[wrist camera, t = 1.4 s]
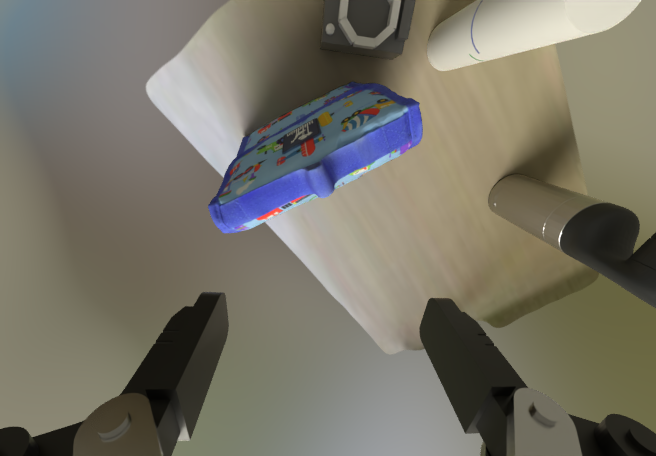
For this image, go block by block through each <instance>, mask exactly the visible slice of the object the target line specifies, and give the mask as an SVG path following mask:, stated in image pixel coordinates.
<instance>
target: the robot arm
mask: <svg viewBox="0 0 656 456" xmlns="http://www.w3.org/2000/svg"><path fill="white" fill-rule="evenodd" d="M489 207H490V209H491V210H492V211H493V212H494V213H495V214H497V215H499V216H501V217H502V218H504V219H506V220H507V221H509V222H511V223H513V224H514V225H516V226H518V227H520V228H521V229H523V230H525V231H527V232H528V233H530V234H532V235H534V236H535V237H537V238H539V239H541V240H542V241H544V242H546V243H548V244H550V245H551V246H553V247H555V248H557V249H558V250H560V251H562V252H564V253H565V254H567V255H569V256H571V257H572V258H574V259H576V260H578V261H580V262H582V263H583V264H585V265H587V266H589V267H590V268H592V269H594V270H596V271H597V272H599V273H601V274H602V275H604V276H605V277H607V278H609V279H610V280H612V281H613V282H615V283H617V284H618V285H620V286H621V287H623V288H624V289H626V290H627V291H629V292H631V293H632V294H634V295H635V296H637V297H638V298H640V299H641V300H643V301H645V302H646V303H648V304H650V305H651V306H653V307H655V308H656V233H655V234H653V236H652V237H651V238H649V239H648V240H647V241H646V242H645V243H644V244H643V245H642V246H641V247H640V248H639V249H638V250H637V251H636V252H635V253H634V254H633V248H634V245H635V242H636V239H637V237H638V234H639V226H640V224H639V220H638V218H637V216H636V215H635V214H634V213H633V212H632V211H630V210H628V209H626V208H624V207H621V206H618V205H615V204H611V203H608V202H605V201H602V200H599V199H596V198H593V197H589V196H586V195H583V194H580V193H577V192H574V191H570V190H567V189H564V188H561V187H558V186H555V185H552V184H549V183H546V182H542V181H539V180H536V179H533V178H530V177H527V176H524V175H520V174H514V175H510V176H507V177H505V178H503V179H502V180H500V181H499V182H498V183H497V184H496V185H495V186H494V188H493V189H492V191H491V193H490V196H489ZM228 326H229V325H228V314H227V305H226V297H225V293H216V292H203V293H201V295H200V296H199V298H198V299H197V301H196V303H195V304H194V306H193V307H188V306H185V307H184V308H182V309H181V310H180V311H179V312H178V313H176V314H175V315H174V316H173V317H172V318H171V319H170V321H169V322H168V324H167V325H166V327H165V328H164V330H163V333H161V334H160V336H159V337H158V339H157V340H156V343H155V344H154V345H153V346H152V348H151V349H150V351H149V353H148V354H147V356H146V357H145V359H144V360H143V362H142V363H141V365H140V366H139V368H138V369H137V371H136V372H135V374H134V375H133V377H132V378H131V380H130V381H129V383H128V384H127V386H126V387H125V389H124V390H123V392H122V393H121V394H120V395H119V396H117V397H115V398H112V399H111V400H109V401H107V402H105V403H104V404H102V405H101V406H99V407H98V408H97V409H96V410H94V412H92V413H91V414H90V415H89V416H88V417H87V418H86V420H84V421H82V422H79V423H76V424H73V425H70V426H67V427H64V428H61V429H58V430H54V431H51V432H48V433H45V434H42V435H38V436H35V437H31V436H30V434H29V433H28V431H27V430H25V429H24V428H21V427H7V428H3V429H0V456H171V455H172V453H173V450H174V447H175V445H176V443H177V441H186V440H190V439H191V436H192V434H193V431H194V428H195V425H196V422H197V420H198V417H199V414H200V411H201V409H202V406H203V403H204V400H205V397H206V395H207V391H208V389H209V386H210V383H211V381H212V378H213V375H214V372H215V370H216V367H217V364H218V361H219V358H220V356H221V353H222V350H223V347H224V345H225V342H226V339H227V335H228ZM420 338H421V341H422V343H423V346H424V348H425V350H426V352H427V354H428V356H429V358H430V360H431V362H432V364H433V367H434V368H435V370H436V373H437V375H438V377H439V379H440V381H441V383H442V385H443V387H444V390H445V392H446V394H447V396H448V398H449V400H450V402H451V404H452V406H453V408H454V411H455V413H456V415H457V417H458V419H459V421H460V423H461V425H462V427H463V429H464V432H465V433H466V434H467V433H480V435H481V437H482V439H483V443H482V445H481V452H480V456H656V434H655V433H654V432H652V431H651V430H650V429H648V428H647V427H645V426H643V425H642V424H640V423H639V422H637V421H635V420H633V419H630V418H628V417H626V416H622V415H618V414H610V415H608V416H607V417H606V418H605V419H604V420H603V421H602V422H601V423H600V424H599V423H596V422H592V421H589V420H586V419H582V418H579V417H576V416H572V415H569V414H567V413H566V411H565V410H564V409H563V408H562V407H561V406H560V405H558V404H557V403H556V402H555V401H554V400H552V399H551V398H550V397H548V396H547V395H545V394H543V393H541V392H539V391H537V390H533V389H530V388H528V387H527V386H526V384H525V383H524V382H523V381H522V379H521V378H520V377H519V375H518V374H517V373H516V372H515V370H514V369H513V368H512V366H511V365H510V364H509V363H508V361H507V360H506V359H505V357H504V356H503V355H502V354H501V352H500V351H499V350H498V348H497V347H496V346H494V343H493V342H492V341H491V339H490V338H489V337H488V336H486V333H485V332H484V330H483V329H482V328H481V327H480V325H479V324H478V323H477V322H476V321H475V320H474V319H472V318H471V317H470V316H469V315H467V314H466V313H465V312H461V311H460V310H459V308H458V307H457V306H456V304H455V303H454V302H453V300H451V299H449V298H430V299H429V301H428V303H427V306H426V309H425V312H424V315H423V318H422V321H421V324H420Z"/></svg>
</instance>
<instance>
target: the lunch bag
mask: <svg viewBox="0 0 656 456" xmlns="http://www.w3.org/2000/svg"><path fill="white" fill-rule="evenodd" d="M419 104H420V103H419V102H417V101H415V100H413V99H412V98H408V99H407V98H404V97H402V96H399V95H397V94H396V93H395V92H392V91H391V90H390V89H388V88H387V87H386V86H383V85H380V84H376V83H368V84H361V83H356V82H353V81H352V82H351V83H349V84H348V85H344V86H341V87H339V88H337V89H335V90H333V91H330V92H328V93H326V94H325V95H323V96H321V97H319V98H317V99H314V100H312V101H310V102H308V103H306V104H304V105H302V106H301V107H299V108H296V109H294V110H292V111H290V112H288V113H286V114H285V115H283V116H281V117H279V118H277V119H275V120H273V121H272V122H270V123H268V124H266V125H265V126H263V127H261V128H259V129H257V130H256V131H254V132H253V133H251V135H249V136H246V137H244V138H243V139H242V142H241V145H240V148H239V151H238V154H237V157H236V158H235V159H234V160H233V161H232V162H231V164H230V165H229V167H228V169H227V171H226V173H225V176H224V180H223V182H222V185H221V187H220V189H219V191H218V193H217V196H215V197H214V198H213V199H212V201H211V202H210V204H209V205H208V208H209V211H210V214H211V217H212V219H213V221H214V223H215V225H216V226H217V227H218V228H219V229H220V230H221V231H222V232H223V233H236V232H240V231H242V230H248V229H251V228H253V227H255V226H257V225H259V224H261V223H263V222H265V221H267V220H269V219H271V218H273V217H275V216H277V215H279V214H281V213H283V212H285V211H287V210H289V209H291V208H294V207H296V206H298V205H301V204H303V203H306V202H308V201H311V200H313V199H315V198H317V197H320V198H325V197H328V196H329V195H331V194H332V193H333V191H334V189H336V188H338V187H341V186H343V185H345V184H347V183H349V182H351V181H353V180H355V179H358V178H359V177H361V176H363V175H364V174H365V173H367V172H368V171H370V170H372V169H375V168H377V167H379V166H381V165H382V164H384V163H386V162H388V161H391V160H393V159H395V158H397V157H399V156H400V155H402V154H403V153H404V152H406V151H407V149H410V148H412V147H413V146H416V145H417V144H418V143H419V142H420V141H421V138H422V131H423V128H422V119H421V112H420V109H419Z"/></svg>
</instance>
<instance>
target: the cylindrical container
mask: <svg viewBox="0 0 656 456" xmlns="http://www.w3.org/2000/svg"><path fill="white" fill-rule="evenodd" d="M640 2H641V0H476V1H474V2H473V3H471V4H470V5H468V6H466V7H465V8H463V9H462V10H460V11H459V12H457V13H455V14H454V15H452V16H451V17H449V18H447V19H446V20H444V21H443V22H441V23H440V24H439V25H437V26H436V28H435V29H434V30H433V32H432V33H431V35H430V38H429V40H428V44H427V56H428V59H429V61H430V63H431V65H432V66H433V67H434V68H435V69H437V70H440V71H449V70H453V69H457V68H461V67H465V66H468V65H472V64H476V63H480V62H484V61H488V60H492V59H496V58H500V57H504V56H508V55H512V54H516V53H520V52H524V51H528V50H532V49H536V48H540V47H543V46H547V45H551V44H555V43H559V42H563V41H567V40H571V39H575V38H579V37H583V36H586V35H591V34H595V33H599V32H601V31H605V30H608V29H610V28H611V27H613V26H615V25H617V24H618V23H619V22H621V21H622V20H623V19H625V18H626V17H627V16H628V15H629V14H630V13H631V12H632V11H633V10H634V9H635V7H636V6H637V5H638V4H639V3H640Z"/></svg>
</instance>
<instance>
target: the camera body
mask: <svg viewBox="0 0 656 456" xmlns="http://www.w3.org/2000/svg"><path fill="white" fill-rule="evenodd" d="M414 5H415V0H324V9H323V22H322V34H321V46H320V49H324V50H331V51H338V52H345V53H351V54H358V55H365V56H372V57H378V58H385V59H394V58H396V57H397V56H399V55H401V54H402V52H403V47H404V42H405V40H407V39H408V35H409V30H410V25H411V20H412V15H413V10H414Z"/></svg>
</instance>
